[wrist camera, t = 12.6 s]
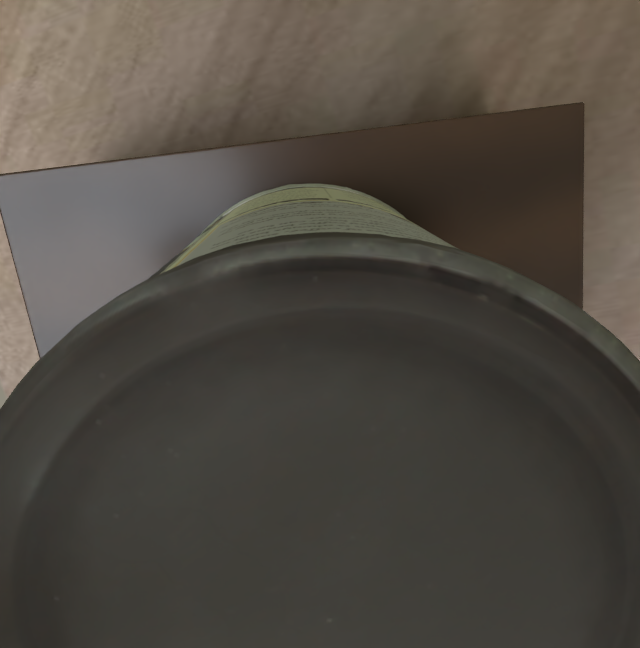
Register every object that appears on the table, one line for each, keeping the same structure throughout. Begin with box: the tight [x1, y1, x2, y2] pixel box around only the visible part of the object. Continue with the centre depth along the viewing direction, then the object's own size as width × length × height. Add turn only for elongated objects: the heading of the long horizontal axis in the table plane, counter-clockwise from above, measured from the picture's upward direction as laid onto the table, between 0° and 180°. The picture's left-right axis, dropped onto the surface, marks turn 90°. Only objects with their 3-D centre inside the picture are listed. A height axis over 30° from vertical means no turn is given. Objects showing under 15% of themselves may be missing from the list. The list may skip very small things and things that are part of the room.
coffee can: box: [0, 184, 640, 648], centre depth 15 cm, size 10×10×14 cm
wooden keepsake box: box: [0, 102, 584, 359], centre depth 25 cm, size 14×20×12 cm
